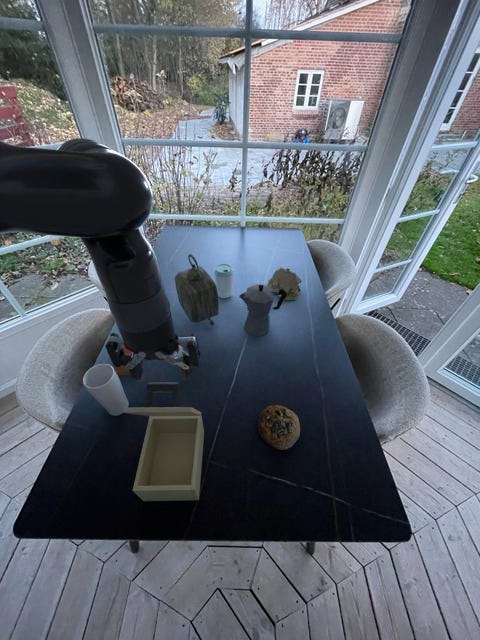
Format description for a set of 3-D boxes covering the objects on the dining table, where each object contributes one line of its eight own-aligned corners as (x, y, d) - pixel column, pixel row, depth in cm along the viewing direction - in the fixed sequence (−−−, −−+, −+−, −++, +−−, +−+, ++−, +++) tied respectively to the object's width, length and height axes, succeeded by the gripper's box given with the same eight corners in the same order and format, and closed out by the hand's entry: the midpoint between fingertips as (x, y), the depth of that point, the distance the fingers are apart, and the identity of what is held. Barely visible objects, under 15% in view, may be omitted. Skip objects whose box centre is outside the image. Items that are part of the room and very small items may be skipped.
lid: (191, 412, 45) (193, 380, 47) (122, 412, 45) (127, 380, 47) (201, 416, 59) (202, 391, 62) (149, 416, 59) (152, 391, 61)
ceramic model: (306, 290, 107) (311, 269, 100) (291, 304, 101) (296, 283, 94) (276, 276, 113) (279, 256, 106) (261, 289, 107) (263, 268, 100)
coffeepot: (241, 339, 88) (242, 298, 75) (235, 319, 94) (236, 278, 81) (285, 333, 90) (294, 292, 77) (277, 314, 96) (284, 273, 84)
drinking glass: (99, 416, 68) (75, 386, 57) (113, 393, 73) (92, 361, 62) (124, 421, 67) (104, 391, 57) (136, 397, 72) (119, 365, 61)
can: (235, 290, 106) (236, 265, 97) (228, 301, 101) (228, 275, 93) (219, 286, 107) (218, 260, 99) (212, 296, 103) (210, 270, 94)
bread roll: (249, 416, 69) (252, 407, 65) (284, 403, 73) (290, 394, 70) (269, 459, 62) (274, 451, 59) (307, 442, 66) (314, 433, 63)
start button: (131, 359, 77) (130, 356, 76) (119, 359, 77) (117, 356, 76) (134, 350, 80) (133, 346, 78) (122, 350, 80) (121, 346, 78)
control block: (137, 375, 77) (134, 368, 75) (113, 375, 77) (109, 368, 74) (145, 348, 84) (142, 341, 82) (123, 348, 84) (120, 341, 82)
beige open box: (198, 500, 56) (194, 489, 50) (143, 501, 56) (132, 490, 49) (204, 430, 66) (201, 415, 60) (157, 431, 66) (149, 415, 60)
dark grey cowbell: (219, 326, 92) (216, 264, 74) (195, 335, 88) (186, 273, 71) (202, 302, 100) (195, 241, 83) (179, 310, 97) (167, 249, 79)
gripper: (79, 331, 34) (117, 394, 46) (190, 331, 35) (200, 394, 46) (100, 294, 40) (129, 359, 51) (196, 294, 40) (203, 359, 52)
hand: (163, 375), depth 49 cm, fingers open, 8 cm apart
